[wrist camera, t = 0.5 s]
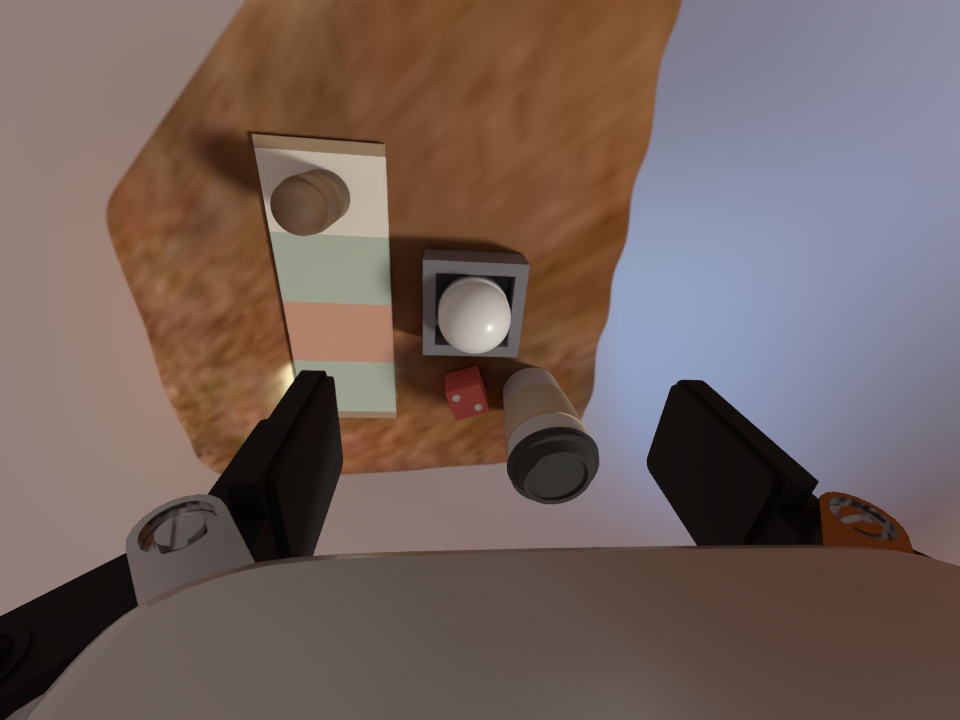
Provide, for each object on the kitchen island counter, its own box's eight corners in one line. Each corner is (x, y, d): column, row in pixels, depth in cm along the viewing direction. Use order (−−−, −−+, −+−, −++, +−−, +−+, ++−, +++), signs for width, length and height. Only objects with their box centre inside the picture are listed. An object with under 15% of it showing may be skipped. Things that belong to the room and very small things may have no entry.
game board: (254, 134, 34) (251, 134, 33) (385, 144, 35) (384, 144, 34) (305, 414, 49) (304, 417, 48) (396, 415, 50) (396, 418, 49)
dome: (439, 269, 39) (437, 294, 33) (509, 272, 40) (520, 297, 34) (438, 333, 42) (436, 366, 36) (502, 335, 43) (511, 367, 37)
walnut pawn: (296, 167, 35) (251, 176, 27) (347, 170, 35) (319, 181, 27) (303, 219, 37) (264, 242, 29) (352, 222, 37) (326, 245, 29)
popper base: (424, 248, 40) (422, 259, 36) (522, 253, 41) (529, 264, 37) (424, 337, 45) (422, 354, 41) (512, 340, 46) (517, 357, 42)
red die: (445, 374, 47) (445, 394, 44) (477, 365, 47) (479, 384, 43) (455, 400, 49) (456, 420, 46) (486, 391, 49) (489, 411, 45)
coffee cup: (578, 373, 49) (626, 460, 36) (544, 427, 52) (576, 524, 39) (513, 349, 46) (539, 433, 33) (482, 408, 50) (494, 504, 37)
